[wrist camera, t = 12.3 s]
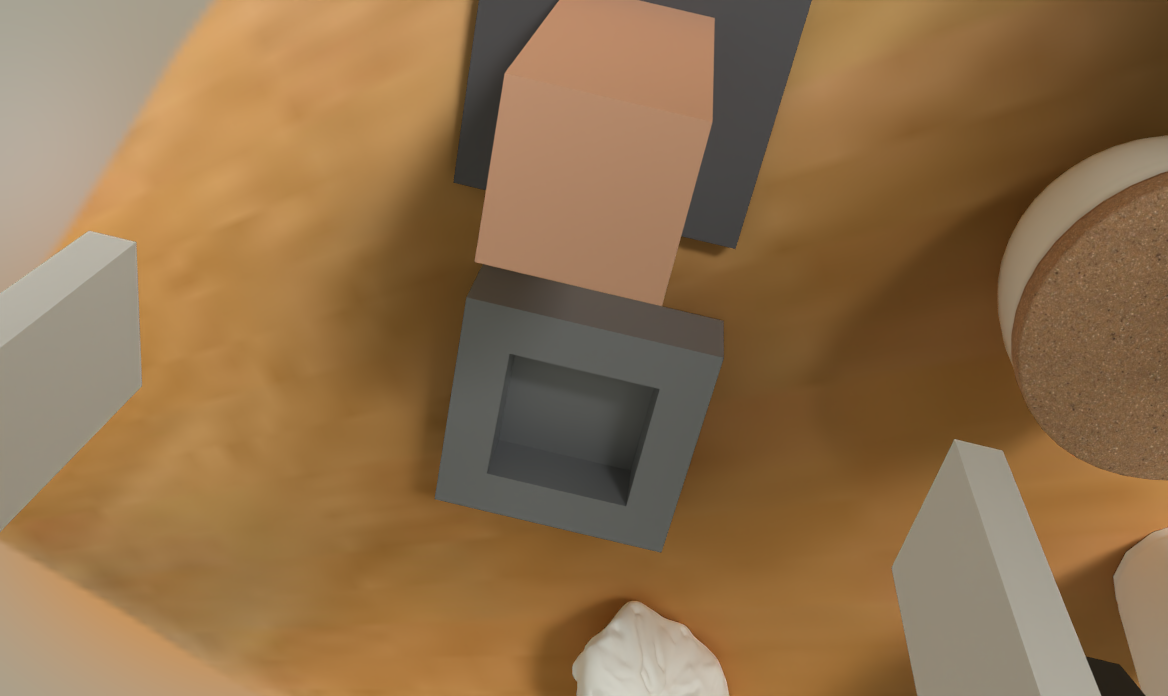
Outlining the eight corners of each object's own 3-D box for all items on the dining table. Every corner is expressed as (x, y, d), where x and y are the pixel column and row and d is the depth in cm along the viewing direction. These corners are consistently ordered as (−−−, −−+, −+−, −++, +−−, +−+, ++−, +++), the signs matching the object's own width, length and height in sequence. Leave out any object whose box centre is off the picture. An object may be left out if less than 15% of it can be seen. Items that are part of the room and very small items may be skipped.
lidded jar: (1036, 63, 34) (1135, 150, 26) (1343, 132, 34) (1540, 241, 26) (923, 330, 39) (975, 471, 31) (1188, 390, 39) (1310, 548, 31)
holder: (723, 320, 40) (723, 358, 37) (664, 508, 45) (661, 552, 42) (482, 264, 40) (466, 297, 37) (451, 457, 45) (434, 499, 42)
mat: (826, -58, 33) (828, -55, 32) (735, 240, 38) (735, 248, 38) (502, -134, 33) (497, -132, 32) (458, 175, 38) (453, 182, 38)
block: (714, 17, 34) (712, 121, 23) (678, 156, 36) (662, 306, 26) (571, -16, 34) (504, 73, 23) (545, 125, 36) (474, 261, 26)
